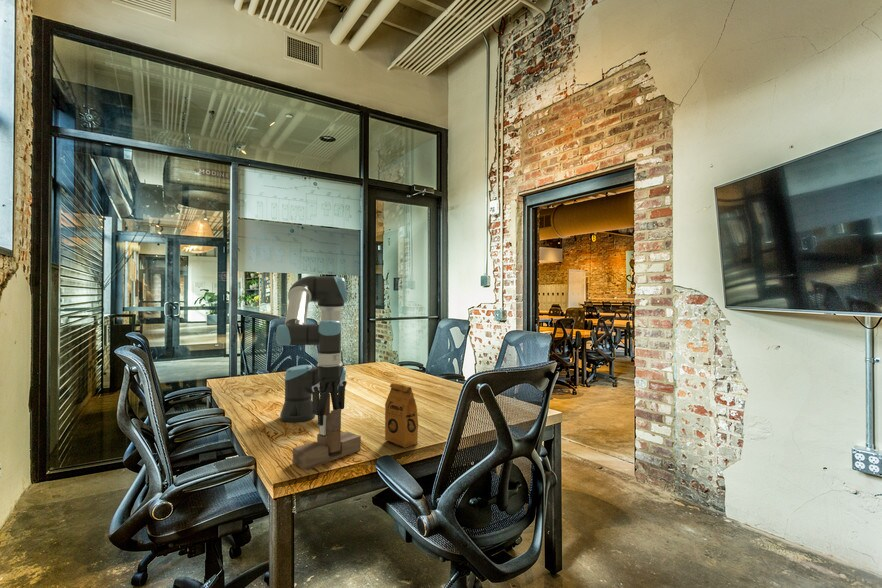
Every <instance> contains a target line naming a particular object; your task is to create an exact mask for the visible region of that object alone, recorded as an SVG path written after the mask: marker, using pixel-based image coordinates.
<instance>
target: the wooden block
mask: <svg viewBox="0 0 882 588" xmlns="http://www.w3.org/2000/svg"><path fill="white" fill-rule="evenodd" d="M324 415H325V416H326V435H321V434H319V433H317V435H316V436H317V437H316V442H317V443H320V444H322V445H325V446H327V447H328V451H329V452H331V453H333V452H336V451H340V443H341V433H342V431H341V430H342V409H337V410H333V409H332V410H331V394H330V393H329V395H328V397H327V402H326V408H325V413H324ZM319 427H320V425H318V428H319Z"/></svg>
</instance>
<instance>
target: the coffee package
mask: <svg viewBox="0 0 882 588" xmlns="http://www.w3.org/2000/svg"><path fill="white" fill-rule="evenodd" d="M389 387H390V391H389V393H388V395H387V398H386V401H385V404H384V405H385V406H384V409H385V410H384V411H385V413H384V419H385V420H384V422H385V423H384V440H385V441H388V442H390V443H393V444H394V445H396V446H400V447H402V448H405V449H406V448H408V447H411V446H412V447H413V446H417V444H419V443H418V438H419V433H418V432H419V431H418V429H419V419H418V417H419V416H418V405H417V404H416V403H417V402H416V399H415V396H414V392H413V389H412V387H411V386H407V385H405V384H404V385H403V384H401V383H400V384H399V383H394V382H391V383H390V385H389Z"/></svg>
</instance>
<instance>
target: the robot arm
mask: <svg viewBox="0 0 882 588" xmlns="http://www.w3.org/2000/svg"><path fill="white" fill-rule="evenodd" d="M287 299H288V304H287V305H288V306H287V310H286V316H285V320H284V323H283V324H279V325H277V327H276V331H275V332H276V333H275V335H276V336H275V340H276V343H277V345H278V346H286V347H287V346H288V347H290V346H318V352H317V353H318V354H317V355H318V356H317V357H318V358H317V364H316V367H313V365H312V364H300V365H297V366H296V365H295V366H292V367H289V368H288V369H286V370H285V374H284V376H285V377H284V402H283V405H282V409H281V411H280V413H279V415H280V416H279V417H280V419H279V420H280V421H281V422H286V423H301V422H306V421H310V420H312V419H314V418H315V417H316V416H317V425H318V434H321V435H326V416H325V415H324V413H325V408H326V402H327V397H328V395H329V393H330V401H331V406H332V410H337V409H341V410H344V409H345V401H346V400H345V399H346V397H345V395H346V386H347V384H348V383H347V380H346V376H347V374H346V373H347V368H346V367H345V366H344V363H343V362H342V360H341V358H342V356H341V355H342V354H341V353H342V351H341V348H342V346H341V345H342V323H341V316H342V315H341V314H342V313H341V312H342V311H341V310H342V309H343V308H344V307H345V303H347V302H348V293H347V286H346V280H345V278H344V277H341V276H332V275H331V276H329V275H328V276H327V275H326V276H325V275H324V276H323V275H322V276H320V275H309V276H304V277H302V278H300V279H298V280H296V281H295V282H294V283H293V284H292V285H290V288H289V290H288V293H287ZM310 302H312V303H313V302H314V303H317V307H318V308H319V309H320V311H321V312H320V313H321V314H320V316H321V317H320V321H319V323H318V324H316V323H315V324H309V323H308V324H307V317H308V308H309V303H310ZM319 425H320V427H319Z"/></svg>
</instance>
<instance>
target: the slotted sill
mask: <svg viewBox="0 0 882 588" xmlns="http://www.w3.org/2000/svg"><path fill="white" fill-rule="evenodd" d="M361 437H362V436H361V435H359V434H355V433H354V432H350V431H343V432H341V443H340V451H336V452H333V453H331V452H329V451H328V447H327V446H325V445H322V444H320V443H317V441H312V442H309V443H305V444H302V445H299V446H296V447H292V464H293V465H295V466H297V467H300V468H302V469H304V470H306V471H308V470H310V469H313V468H315V467H319V466H321V465H324V464H326V463H330V462H332V461H334V460H338V459H340V458H343V457H345V456H349V455H351V454H353V453H356V452H359V451H361V449H362V448H361V447H362V446H361V445H362V444H361V442H362V440H361V439H362V438H361Z"/></svg>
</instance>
